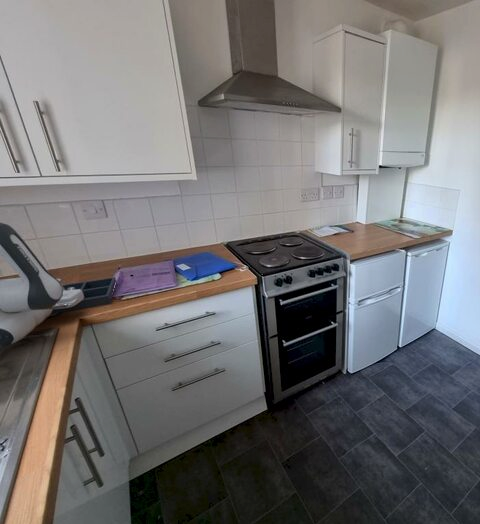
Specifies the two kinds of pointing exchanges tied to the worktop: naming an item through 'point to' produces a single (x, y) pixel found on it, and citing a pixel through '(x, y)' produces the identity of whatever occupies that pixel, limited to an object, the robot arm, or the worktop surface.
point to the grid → (91, 294)
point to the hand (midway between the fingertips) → (56, 290)
